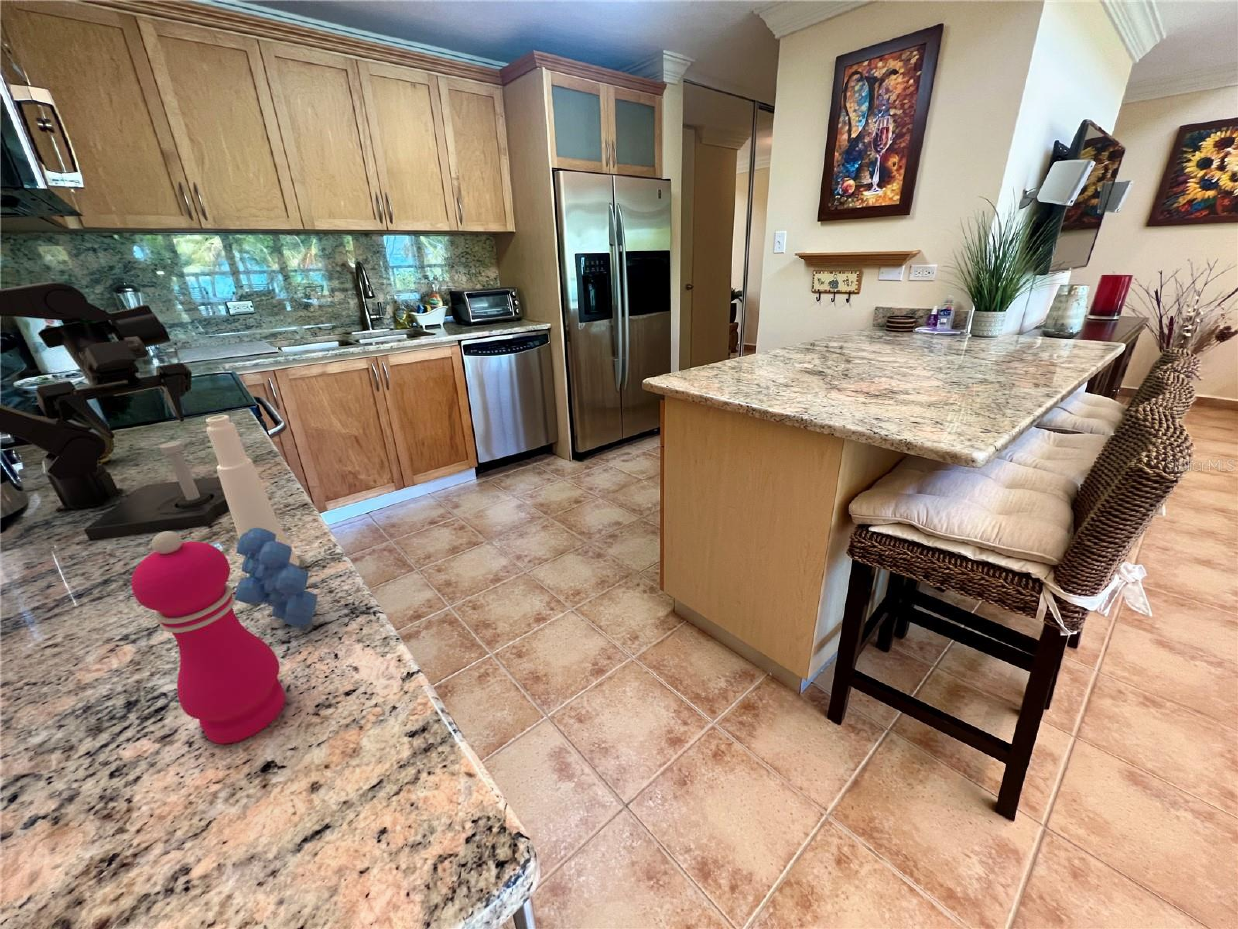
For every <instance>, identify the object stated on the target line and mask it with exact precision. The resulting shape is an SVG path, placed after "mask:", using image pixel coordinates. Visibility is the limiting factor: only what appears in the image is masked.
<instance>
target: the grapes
mask: <svg viewBox="0 0 1238 929" xmlns="http://www.w3.org/2000/svg"><path fill="white" fill-rule="evenodd" d="M275 539H276V534H274V533H272V532H270V531H268V530H266V529H262V528H252V529H250V530H249V531H248V532H247V533H243V535H242V536H241V537H240V539H239V538H238V543H237V546H236V554H238V555H241V556H245V558H244V557H243V561H242V565H241V572H243V573H245V574H246V575H247V574H249V577H247V576H245V577H242V578H241V579H240V580H239V582H238V583H237V586H236V590H235V594H234V596H235V601H238V602H241V603H243V604H247V605H252V606H256V605H258V604H262V603H265V604H266V605H268V606H269V607H272V610H271V611H272V612H271V616H272V617H274V618H276V619H280V620H282V621H283V620H284V621H283V623H284V624H286V625H289V626H291V627H296V628H301V629H302V628H305V627H308V626H310V624H311V623H312V622H313V619H314V615H315V614H314V613H315V612H316V608H317V603H318V594H316V593H314V592H311V591H310V590H309V591H308V590H306V588H307V584H308V580H309V571H307V570H305V569H303V568H301V567H300V565H299V566H297V565H295V564H292V563H290V562H289V561H290V557H291V551H292V550H293V547H292V546H291V545H290V546H287V545H285V544H283V543H281V542H276V541H275Z"/></svg>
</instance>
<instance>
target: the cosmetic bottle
mask: <svg viewBox="0 0 1238 929" xmlns="http://www.w3.org/2000/svg"><path fill="white" fill-rule="evenodd" d="M230 420H231V419H230V416H229V415H223V414H222V415H221V414H220V415H215V416H211V417H208V418H206V419H205V422H206V425H208V426H207V427H206V433H207V436H208V439H209V441H210V444H211V446H212V449H213V451H214V454H215V456H216V459H217V462H218V464H217V466H216V473H217V475H218V477H219V478H220V482H221V485H222V488H223V491H224V494H225V497H226V500H227V503H228V506H229V512H230V514H231V515H230V516H231V518H232V519H231V520H232V521H233V524H234V528H235V532H236V534H237V537H238V538H237V539H238V540H239V539H240V537H241V536H242V535H243V533H247V532H248V531H249V530H250V529H252V528H262V529H266V530H268V531H270V532H272V533H274V534H276V539H275V541H276V542H281V543H283V544H285V545H287V546H290V547H291V545H290V543H289V541H288V539H287V537H286V536H285V533H284V531H283V529H282V527H281V525H280V523H279V521H278V518H277V516H276V513H275V510H274V508H273V507H272V504H271V502H270V500H269V497H268V494H267V492H266V489H265V487H264V485H263V482H262V479H261V478H260V475H259V473H258V471H257V469H256V468H257V467H256V466H255V463H254V461H253V460H252V459H251V458H249V457H247V454H246V452H245V449H244V447H243V444H242V440H241V438H240V435H239V433H238V430H237V426H236V425H235V424H234V423H233V422H231V421H230ZM242 556H243V555H242ZM244 558H245V556H243V559H244ZM289 562H290V563H292V564H295V565H297V566H299V567H300V560H299V558H298V556H297V555H296V553H295V552H294V550H293V549H292V551H291V557H290V561H289ZM246 577H249V574H247V573H246Z"/></svg>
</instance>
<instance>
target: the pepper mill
mask: <svg viewBox="0 0 1238 929" xmlns="http://www.w3.org/2000/svg"><path fill="white" fill-rule="evenodd" d="M182 538H183V537H182V536H181V535H180V534H179V533H177V532H175V531H172V530H166V531H160V532H159V533H157V534H156V535H155V536H153V538H152V540H151V547H152V549H153V551H154V552H152V553H150V554H149V555H147V556H146V557H145V558H144V559H142V560H141V561H140V562H139V564H138V565H137V566H136V568H135V569H134V571H133V573H132V576H131V582H130V583H131V590H132V594H133V596H134V597H135V599H136V601H137V602H138V604H140V605H141V606H143V607H145V608H146V609H148V610H151V611H155V612H154V613H155V614H154V615H155V616H154V617H155V619H156V620H157V621H158V622H159V627H160V628H161V630H163V631H164V632H167V633H171V634H172V635H173V637H174V639H175V640H176V643H177V646H178V651H179V658H180V659H179V671H178V677H177V682H176V683H177V684H176V687H177V688H176V689H177V690H176V691H177V698H178V701H179V703H180V706H181V709H182V711H183V712H184V713H185V714H186V715H187V716H188V717H191V718H192V719H195V720H198V721H199V725H200V727H201V730H202V731H203V734H205V737H206V739H207V740H208V741H210V742H212V743H215V744H232V743H236V742H240V741H242V740H245V739H247V738H250V737H253V736H254V735H256V734H257V733H259V732H260V731H262V730H263V729H265V728H266V727H267V726H269V725H270V724H271V723H272V722H273V721H274V720H275V719H276V718H277V717H278V715H279V714H280V713H281V711H282V710H283V708H284V706H285V703H286V694H285V693H286V692H285V691H284V688H283V686H282V684H281V681H280V680H279V679H278V677H279V673H280V662H279V660H278V659H279V658H278V657H277V655H276V654H275V652H274V650H273V649H272V648H271V647H270V646H269V644H267V643H266V642H265V641H264V640H263V639H261V638H260V637H258V636H257V635H255V634H254V633H252V632H251V631H249V630H248V629H246V628H245V627H244V625H243V624H242V623H241V622H240V620H239V619H238V617H237V615H236V613H235V611H234V605H235V603H236V600H235V594H234V593H233V589H232V587H231V585H230V584H228V583H227V582H228V580H229V578H230V575H231V567H230V566H231V565H230V564H229V561H228V559H227V557H226V556H225V554H224V552H223V551H221V550H220V549H219V548H218V547H217V546H214V545H212V544H210V543H207V542H203V541H202V542H201V541H183V539H182Z"/></svg>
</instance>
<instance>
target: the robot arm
mask: <svg viewBox="0 0 1238 929" xmlns="http://www.w3.org/2000/svg"><path fill="white" fill-rule="evenodd" d="M0 317H19V318H28V319H38V320H53V321H67V322H68V321H69V322H70V321H75V322H71V323H66V324H60V325H50V324H46V325H45V326H44V328H42V329H41V330H40V331H38V332H37V336H39V338H40V339H41V341H42V343H43V344H44V345H45V347H46V348H48V349H53V348H58V347H62V346H63V348H65V350H66V352H68V354H69V355H70V357H71V359H72V360H73V361H74V363H75V364H76V365H77V367H78V368H79V370H80V371H81V372H82V376H83V377H84V379H87V381H88V382H89V384H90V385H86V386H81V387H76V386H75V385H74V383H73V382H72V381H71V380H64V381H63V380H62V381H58V382H51V383H45V384H40V385H37V386H36V388H35V390H34V392H35V396H36V399H37V403H38V406H39V408H40V410H41V412H42V413H43V414H44V416H42V415H35V414H31V413H28V412H25V411H22V410H18V409H15V408H14V407H13V408H12V407H9V406H8V405H7V406H6V405H3V404H0V433H2V434H5V435H8V436H12V437H15V438H19V439H21V440H23V441H25V442H28V443H29V444H31V445H33V446H35V447H37V448H39V449H41V450H43V451H44V452H47V453H46V454H45V456H43V458H42V459H43V463H44V464H45V467H46V470H47V472H48V474H46V478H47V479H48V481H49V483H50V484H51V486H52V488H53V490H54V493H55V494H56V496H57V497H58V499H59V501H60V503H61V504H60V505H58V506H57V507H55V509H54V510H55V511H56V512H61V511H69V510H79V509H87V508H96V507H97V508H98V507H101V506H103V505H104V504H106V503H107V502H109V501H110V500H112V499H113V498H114V497H117V495H119V494H120V493H122V492H123V491H124V489H123V487H120V488H119V487H118V486H117V485H116V483H115V481H114V478H113V476H112V474H111V473H110V472H109V471H107V470H106V468H105V465H103V464H97V459H98V458H100V457H101V456H102V455H103V454H104V452H105V449H106V443H105V441H104V440H103V438H102V437H101V435H100V434H99V433H101V434H103V435H105V436H107V437H109V438H111V439H113V440H114V439H115V434H114V432H113V430H111V427H110V425H109V426H108V423H107V422H106V421H104V419H103V418H102V417H101V416H100V415H99V414H98V413H97V412H96V411H95V409H94V408H93V407H92V406H91V404H90V403H89V401H90V400H96V399H100V398H106V397H112V396H113V397H117V396H121V395H127V394H132V393H133V394H134V393H137V392H144V391H148V390H153V389H159V391H160V392H161V394H163V398H164V400H165V402H166V404H167V405H168V407H169V408H170V409H171V410H170V411H172V412H173V414H174V415H175V417H176V418H177V419H178V420H179V421H180V422H181V423H183V422H185V416H184V411H183V407H182V401H181V398H183V397H184V396H186V393H188V392H190V391H191V390H192V379H193V378H192V376H193V371H192V370H191V369H190V368H189V366H188V365H187V364H185V363H183V362H173V363H167V364H161V365H156V366H155V374H154V375H149V376H144V377H138V375H137V374H139V373H140V368H139V367H138V365H137V363H136V362H137V361H138V359H146V357H147V356H148V354H149V352H148V349H147V348H151V347H154V346H159V345H162V344H168V343H171V341H172V340H171V337H170V335H169V333H168V330H167V329H166V327H165V325H164V323H162V322H160V320H159V318H158V317H157V315H156V314H155V313H154V312H153V309H151V307H150V305H148V304H140V305H136V306H134V307H132V308H126V309H122V310H116V311H111V312H108V311H107V309H105V308H104V307H98V306H97V305H94V304H92V303H90V302H89V301H88V299H87V297H86V295H85V294H84V293H82V291H80V290H79V289H78V288H76V287H74V286H72V285H70V284H67V283H64V282H59V281H44V282H37V283H31V284H25V285H18V286H12V287H7V288H6V287H5V288H0ZM79 319H84V320H88V321H92V322H80V321H76V320H79ZM110 335H112V337H113V338H114V341H112V339H111V338H110ZM106 423H107V424H106ZM109 427H110V428H109ZM98 432H99V433H98Z"/></svg>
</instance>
